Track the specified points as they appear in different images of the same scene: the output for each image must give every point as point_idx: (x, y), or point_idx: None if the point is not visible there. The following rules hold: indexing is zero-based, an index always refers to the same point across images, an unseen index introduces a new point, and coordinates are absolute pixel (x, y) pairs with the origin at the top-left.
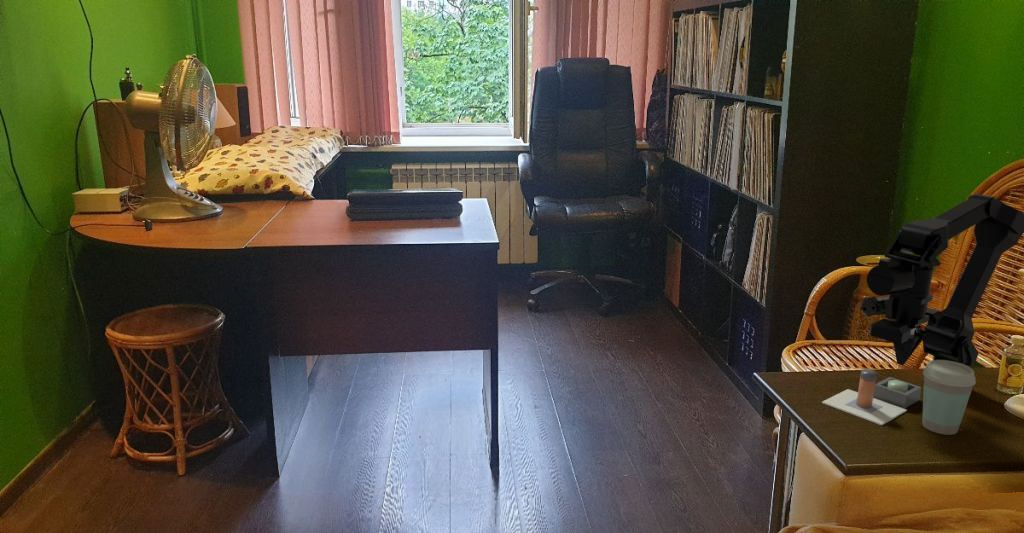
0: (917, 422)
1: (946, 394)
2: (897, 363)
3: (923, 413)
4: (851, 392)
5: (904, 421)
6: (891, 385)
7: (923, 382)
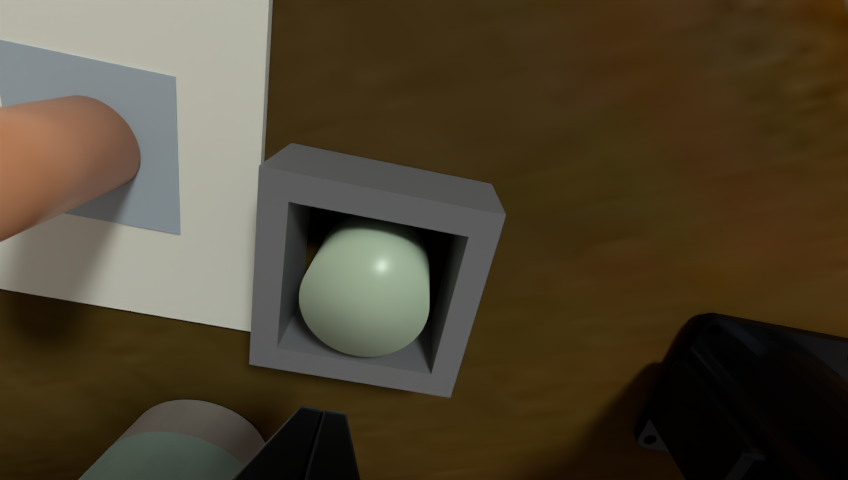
0: (172, 382)
1: None
2: (296, 410)
3: (110, 452)
4: (228, 3)
5: (129, 342)
6: (305, 275)
7: (700, 323)
